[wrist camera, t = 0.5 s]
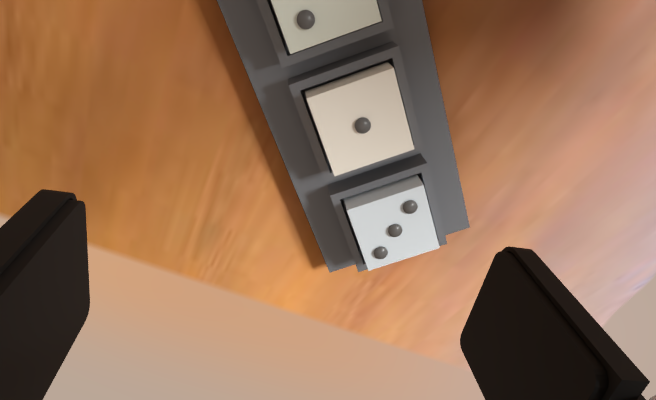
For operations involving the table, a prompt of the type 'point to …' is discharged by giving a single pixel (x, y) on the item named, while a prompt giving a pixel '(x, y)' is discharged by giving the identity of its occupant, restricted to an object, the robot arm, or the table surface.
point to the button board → (302, 134)
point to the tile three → (392, 222)
